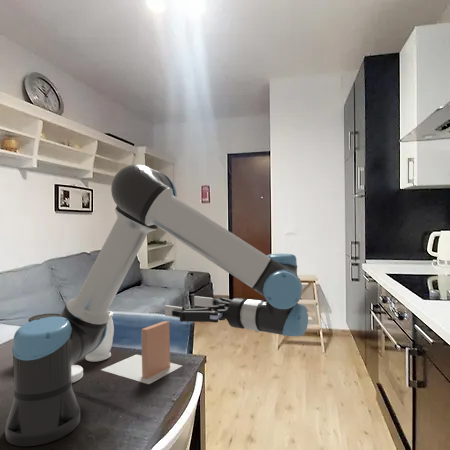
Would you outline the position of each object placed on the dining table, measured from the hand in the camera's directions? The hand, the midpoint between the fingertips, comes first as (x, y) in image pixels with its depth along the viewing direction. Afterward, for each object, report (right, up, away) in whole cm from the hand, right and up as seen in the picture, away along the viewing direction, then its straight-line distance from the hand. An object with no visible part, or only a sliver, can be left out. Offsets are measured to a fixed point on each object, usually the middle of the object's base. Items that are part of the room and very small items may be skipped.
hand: (180, 305), depth 104 cm
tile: (-8, -21, +5) cm, 23 cm away
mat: (-13, -22, +8) cm, 27 cm away
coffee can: (-49, -23, +21) cm, 58 cm away
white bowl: (-34, -23, +1) cm, 41 cm away
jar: (-31, -23, +20) cm, 43 cm away
